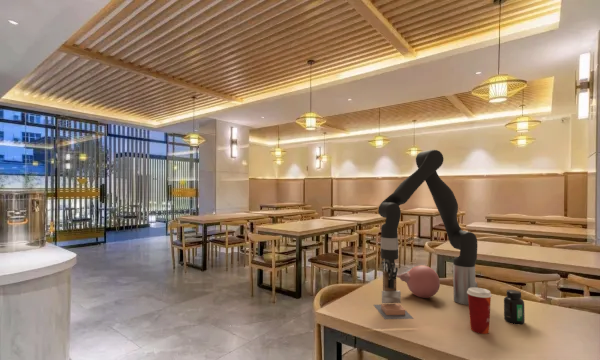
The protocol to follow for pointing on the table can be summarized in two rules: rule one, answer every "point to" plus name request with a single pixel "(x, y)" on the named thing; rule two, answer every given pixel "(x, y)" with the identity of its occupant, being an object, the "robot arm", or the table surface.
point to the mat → (406, 316)
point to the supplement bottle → (514, 308)
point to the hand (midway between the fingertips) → (389, 286)
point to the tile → (393, 309)
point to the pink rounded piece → (421, 281)
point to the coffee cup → (479, 309)
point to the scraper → (390, 291)
